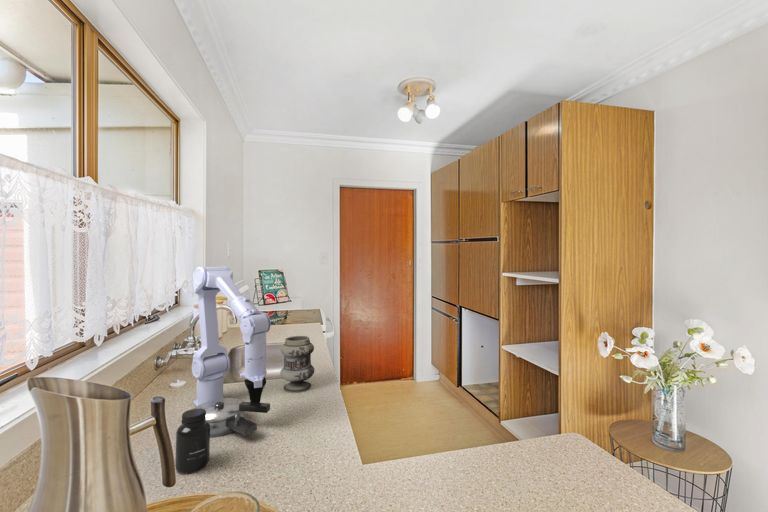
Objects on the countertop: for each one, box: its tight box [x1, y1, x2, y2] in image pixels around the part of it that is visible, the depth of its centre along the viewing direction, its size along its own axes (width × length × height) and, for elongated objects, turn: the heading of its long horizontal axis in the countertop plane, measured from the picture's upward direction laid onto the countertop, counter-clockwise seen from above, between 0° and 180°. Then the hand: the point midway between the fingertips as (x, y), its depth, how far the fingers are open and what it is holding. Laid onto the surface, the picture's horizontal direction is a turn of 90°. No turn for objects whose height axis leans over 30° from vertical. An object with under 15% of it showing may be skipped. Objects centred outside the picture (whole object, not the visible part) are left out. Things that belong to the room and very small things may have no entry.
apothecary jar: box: [279, 335, 315, 394], centre depth 127 cm, size 12×12×18 cm
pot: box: [209, 411, 258, 438], centre depth 96 cm, size 21×13×7 cm, turn 56°
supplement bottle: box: [174, 408, 211, 475], centre depth 79 cm, size 7×7×12 cm
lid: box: [193, 397, 271, 422], centre depth 97 cm, size 21×14×2 cm, turn 83°
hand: (255, 404), depth 99 cm, fingers closed
